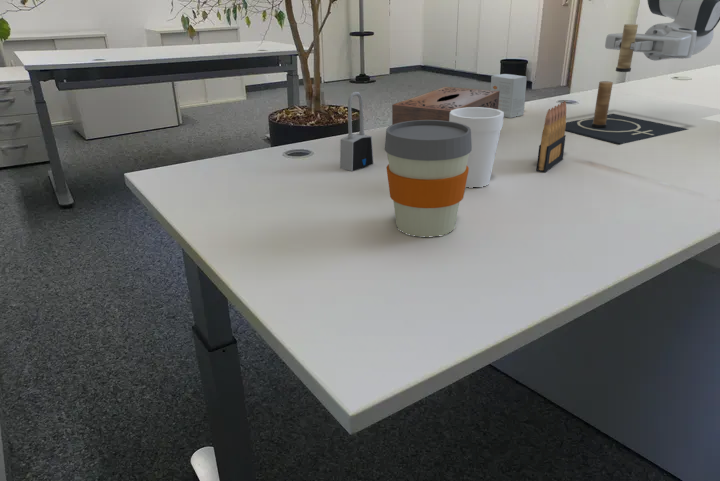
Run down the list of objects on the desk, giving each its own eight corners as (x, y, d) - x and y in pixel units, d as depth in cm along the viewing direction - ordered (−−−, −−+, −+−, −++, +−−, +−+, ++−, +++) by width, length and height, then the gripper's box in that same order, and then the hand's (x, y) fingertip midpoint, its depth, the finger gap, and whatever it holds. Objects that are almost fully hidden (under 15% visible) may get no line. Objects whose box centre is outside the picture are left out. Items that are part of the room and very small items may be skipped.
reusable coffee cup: (481, 236, 81) (489, 135, 74) (401, 248, 78) (402, 144, 71) (445, 206, 92) (449, 116, 85) (374, 216, 89) (373, 123, 82)
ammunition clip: (545, 172, 107) (552, 110, 102) (535, 171, 108) (542, 109, 103) (562, 159, 114) (570, 100, 109) (554, 157, 115) (561, 99, 110)
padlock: (353, 171, 110) (351, 95, 104) (338, 167, 113) (335, 93, 106) (375, 163, 114) (374, 90, 108) (360, 160, 117) (358, 88, 111)
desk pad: (690, 131, 132) (691, 129, 132) (624, 146, 122) (624, 143, 122) (613, 115, 150) (613, 113, 150) (549, 126, 140) (549, 124, 139)
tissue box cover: (450, 158, 117) (452, 111, 113) (392, 149, 124) (392, 104, 120) (496, 132, 136) (499, 91, 132) (443, 125, 143) (445, 86, 139)
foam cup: (505, 188, 99) (512, 116, 93) (456, 192, 97) (460, 119, 92) (486, 172, 107) (491, 105, 102) (440, 176, 106) (443, 108, 100)
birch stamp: (633, 71, 135) (642, 24, 131) (624, 72, 134) (632, 25, 129) (621, 69, 138) (629, 23, 133) (612, 70, 137) (620, 24, 132)
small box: (523, 115, 152) (527, 76, 148) (510, 118, 149) (513, 78, 145) (502, 111, 158) (505, 73, 154) (488, 113, 155) (491, 75, 151)
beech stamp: (609, 127, 136) (616, 82, 132) (599, 128, 135) (607, 83, 130) (597, 124, 139) (604, 80, 135) (588, 126, 138) (595, 82, 133)
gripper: (628, 26, 146) (592, 29, 140) (703, 30, 130) (666, 34, 124) (623, 51, 149) (588, 55, 143) (697, 58, 132) (660, 63, 126)
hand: (625, 45), depth 133 cm, fingers closed on birch stamp, 3 cm apart
